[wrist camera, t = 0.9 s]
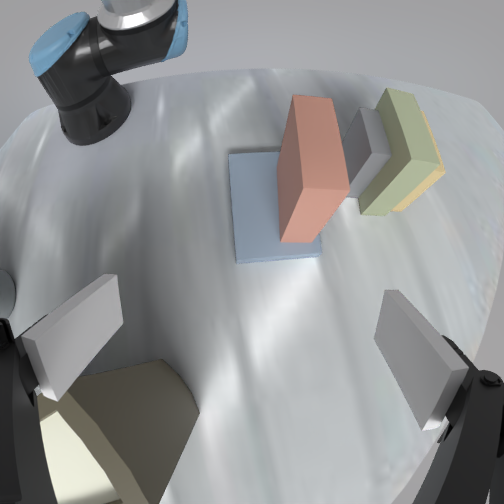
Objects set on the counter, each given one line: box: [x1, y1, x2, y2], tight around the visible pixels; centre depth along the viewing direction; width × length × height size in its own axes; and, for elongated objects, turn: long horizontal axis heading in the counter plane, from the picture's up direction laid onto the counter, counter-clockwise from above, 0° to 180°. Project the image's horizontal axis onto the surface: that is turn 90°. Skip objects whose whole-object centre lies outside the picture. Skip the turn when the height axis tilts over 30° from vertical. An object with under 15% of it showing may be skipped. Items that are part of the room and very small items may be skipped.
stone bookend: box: [342, 107, 392, 198], centre depth 41 cm, size 8×3×13 cm, turn 0°
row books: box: [358, 88, 446, 216], centre depth 39 cm, size 12×8×17 cm, turn 0°
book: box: [37, 359, 200, 504], centre depth 22 cm, size 22×9×28 cm, turn 124°
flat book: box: [228, 152, 322, 264], centre depth 44 cm, size 17×12×2 cm
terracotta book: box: [277, 95, 350, 243], centre depth 35 cm, size 12×4×16 cm, turn 0°
